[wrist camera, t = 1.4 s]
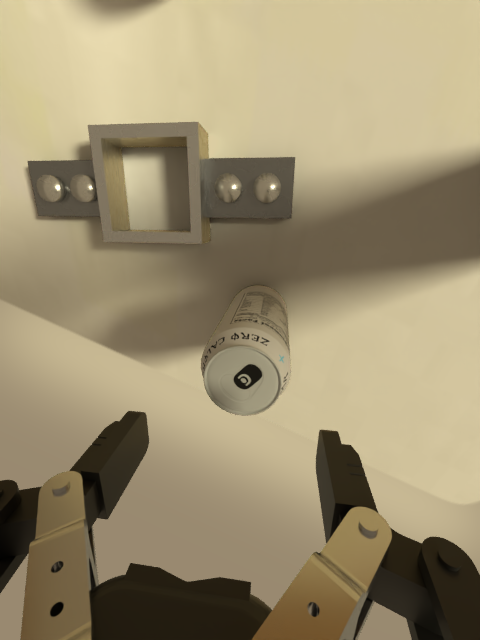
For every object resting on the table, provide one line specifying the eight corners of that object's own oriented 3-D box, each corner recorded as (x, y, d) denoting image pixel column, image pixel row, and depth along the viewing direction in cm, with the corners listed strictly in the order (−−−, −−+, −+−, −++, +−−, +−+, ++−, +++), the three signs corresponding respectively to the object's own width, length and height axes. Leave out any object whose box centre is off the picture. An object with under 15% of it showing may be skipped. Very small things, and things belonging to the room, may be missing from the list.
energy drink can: (220, 309, 33) (174, 379, 18) (258, 271, 31) (240, 316, 17) (258, 346, 33) (243, 439, 19) (298, 311, 31) (313, 386, 17)
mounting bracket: (296, 131, 26) (298, 118, 23) (289, 242, 29) (290, 245, 26) (34, 137, 29) (3, 127, 26) (53, 238, 32) (27, 240, 29)
